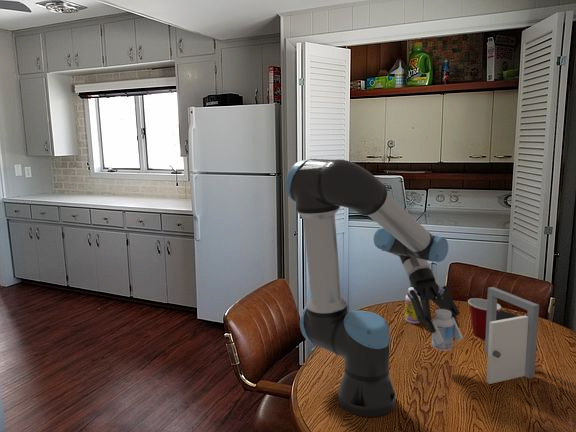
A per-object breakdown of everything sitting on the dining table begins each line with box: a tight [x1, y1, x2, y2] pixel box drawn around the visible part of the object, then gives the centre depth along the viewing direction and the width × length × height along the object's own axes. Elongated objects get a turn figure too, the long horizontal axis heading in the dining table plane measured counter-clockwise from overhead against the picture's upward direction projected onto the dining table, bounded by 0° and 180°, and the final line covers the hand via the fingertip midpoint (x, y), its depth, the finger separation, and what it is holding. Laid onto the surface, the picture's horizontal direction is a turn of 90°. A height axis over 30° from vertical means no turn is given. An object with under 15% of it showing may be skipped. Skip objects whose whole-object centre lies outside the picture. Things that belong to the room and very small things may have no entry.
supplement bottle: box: [404, 286, 422, 325], centre depth 171 cm, size 7×7×13 cm
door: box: [486, 315, 528, 385], centre depth 126 cm, size 13×2×18 cm, turn 108°
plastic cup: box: [467, 297, 502, 339], centre depth 157 cm, size 11×11×12 cm
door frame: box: [484, 286, 540, 380], centre depth 135 cm, size 2×18×22 cm, turn 18°
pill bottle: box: [431, 308, 454, 352], centre depth 133 cm, size 6×6×11 cm
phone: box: [496, 309, 518, 321], centre depth 172 cm, size 8×1×15 cm
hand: (450, 341), depth 130 cm, fingers closed on pill bottle, 6 cm apart
